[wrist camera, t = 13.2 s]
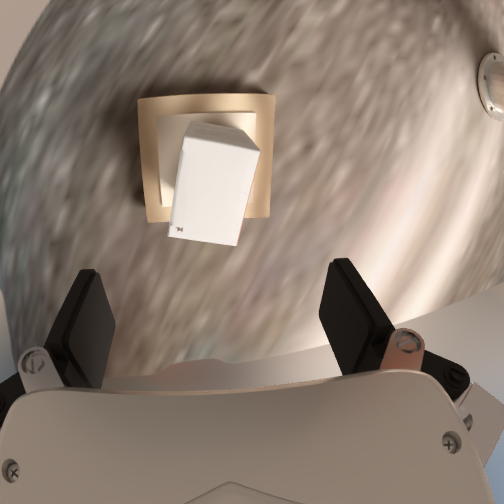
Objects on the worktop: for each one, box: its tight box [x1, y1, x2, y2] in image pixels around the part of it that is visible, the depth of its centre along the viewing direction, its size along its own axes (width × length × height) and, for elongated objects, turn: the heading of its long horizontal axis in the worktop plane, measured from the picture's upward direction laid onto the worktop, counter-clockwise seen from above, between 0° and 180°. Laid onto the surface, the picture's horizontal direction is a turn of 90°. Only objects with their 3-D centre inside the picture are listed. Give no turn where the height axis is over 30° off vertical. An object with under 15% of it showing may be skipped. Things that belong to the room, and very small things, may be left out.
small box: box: [167, 121, 261, 246], centre depth 25 cm, size 8×6×10 cm
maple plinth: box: [137, 93, 276, 223], centre depth 31 cm, size 14×14×4 cm
